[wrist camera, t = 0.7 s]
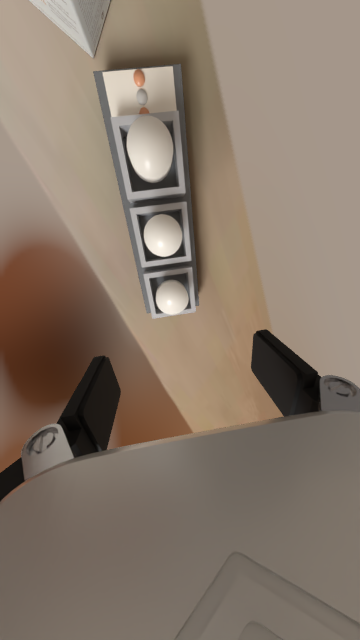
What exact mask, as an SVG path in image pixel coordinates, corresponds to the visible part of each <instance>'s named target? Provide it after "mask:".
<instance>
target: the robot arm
mask: <svg viewBox="0 0 360 640" xmlns="http://www.w3.org/2000/svg"><path fill="white" fill-rule="evenodd" d="M251 369H252V372H253V373H254V375H255V376H256V377H257V379H258V380H259V382H260V383H261V384H262V386H263V387H264V389H265V390H266V392H267V393H268V394H269V396H270V397H271V399H272V400H273V401H274V403H275V404H276V406H277V407H278V409H279V410H280V411H281V413H282V414H283V416H284V417H280V418H274V419H269V420H263V421H257V422H252V423H246V424H241V425H235V426H230V427H224V428H219V429H214V430H208V431H203V432H198V433H192V434H187V435H181V436H176V437H171V438H166V439H161V440H155V441H150V442H145V443H140V444H135V445H130V446H124V447H119V448H115V449H110V450H107V446H108V442H109V438H110V434H111V430H112V426H113V422H114V418H115V414H116V410H117V406H118V402H119V398H120V392H121V391H120V387H119V385H118V382H117V379H116V376H115V374H114V371H113V368H112V365H111V363H110V360H109V358H108V357H105V356H98V357H94V358H93V360H92V362H91V363H90V365H89V367H88V369H87V371H86V372H85V374H84V376H83V378H82V380H81V382H80V383H79V385H78V386H77V388H76V390H75V391H74V393H73V395H72V397H71V399H70V400H69V402H68V404H67V406H66V408H65V409H64V411H63V413H62V415H61V416H60V418H59V420H58V422H57V424H50V425H47V426H45V427H43V428H41V429H39V430H38V431H37V432H36V433H34V434H33V435H32V436H31V437H30V438H29V439H28V441H27V442H26V443H25V444H24V446H23V449H22V453H21V458H20V459H18V460H17V461H16V462H14V463H13V464H12V465H10V466H9V467H8V468H6V469H5V470H4V471H2V472H1V473H0V640H360V389H359V388H358V387H357V386H356V385H355V384H354V383H352V382H351V381H349V380H346V379H344V378H342V377H338V376H333V375H327V376H323V377H320V376H319V375H318V372H317V371H316V370H314V369H313V368H312V367H311V366H310V365H308V364H307V363H306V362H305V361H304V360H302V359H301V358H300V357H299V356H298V355H296V354H295V353H294V352H293V351H292V350H291V349H289V348H288V347H287V346H286V345H284V344H283V343H282V342H281V341H280V340H279V339H277V338H276V337H275V336H274V335H273V334H271V333H270V332H269V331H268V330H260V331H256V333H255V334H254V336H253V349H252V362H251Z"/></svg>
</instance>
